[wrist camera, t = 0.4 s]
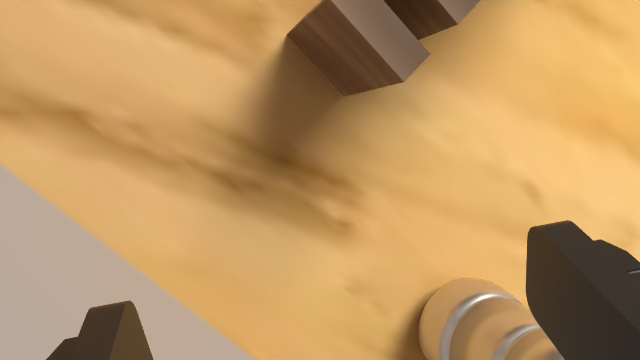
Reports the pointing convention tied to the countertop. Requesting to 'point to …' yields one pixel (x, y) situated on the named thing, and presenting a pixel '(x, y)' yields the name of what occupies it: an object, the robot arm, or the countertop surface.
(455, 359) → the plastic bottle
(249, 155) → the countertop surface
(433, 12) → the domino
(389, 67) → the domino
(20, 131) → the countertop surface
